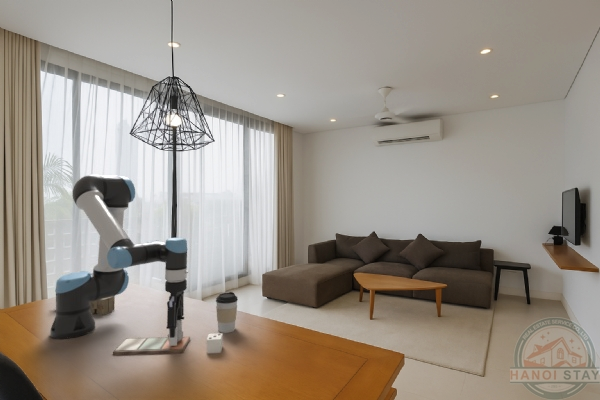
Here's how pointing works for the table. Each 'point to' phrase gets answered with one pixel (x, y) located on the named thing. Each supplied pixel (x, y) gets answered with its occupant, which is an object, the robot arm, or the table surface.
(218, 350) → the die
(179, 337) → the white lumpy piece
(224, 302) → the coffee cup
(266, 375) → the table surface
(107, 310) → the block tower
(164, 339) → the game board
